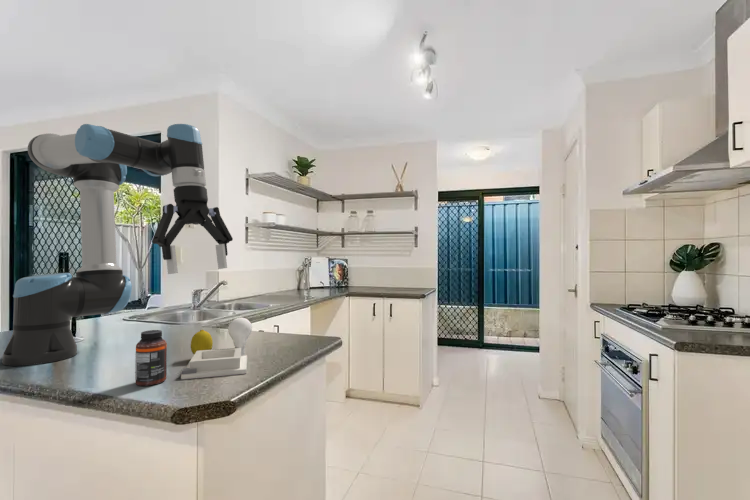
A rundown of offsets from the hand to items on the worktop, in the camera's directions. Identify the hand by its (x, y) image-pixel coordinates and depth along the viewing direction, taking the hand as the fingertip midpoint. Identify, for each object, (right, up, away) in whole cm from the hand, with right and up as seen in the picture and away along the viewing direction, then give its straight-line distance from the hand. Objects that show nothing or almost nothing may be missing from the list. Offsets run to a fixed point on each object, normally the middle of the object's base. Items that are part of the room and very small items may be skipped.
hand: (199, 271), depth 91 cm
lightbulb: (+6, -25, +11) cm, 28 cm away
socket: (+4, -25, 0) cm, 25 cm away
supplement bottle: (-6, -24, -10) cm, 27 cm away
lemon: (-4, -25, +9) cm, 27 cm away
